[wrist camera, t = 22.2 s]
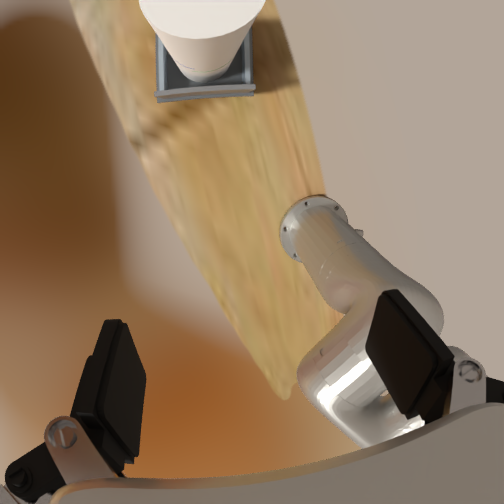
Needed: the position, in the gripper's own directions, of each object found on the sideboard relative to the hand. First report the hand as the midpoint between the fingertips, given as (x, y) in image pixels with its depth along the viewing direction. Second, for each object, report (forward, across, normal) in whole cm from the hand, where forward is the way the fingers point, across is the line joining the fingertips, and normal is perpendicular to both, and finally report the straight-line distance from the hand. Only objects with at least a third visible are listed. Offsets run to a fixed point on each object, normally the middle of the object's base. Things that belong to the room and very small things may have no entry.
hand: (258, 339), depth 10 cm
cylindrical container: (+34, +1, -15) cm, 37 cm away
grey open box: (+38, +1, -16) cm, 41 cm away
